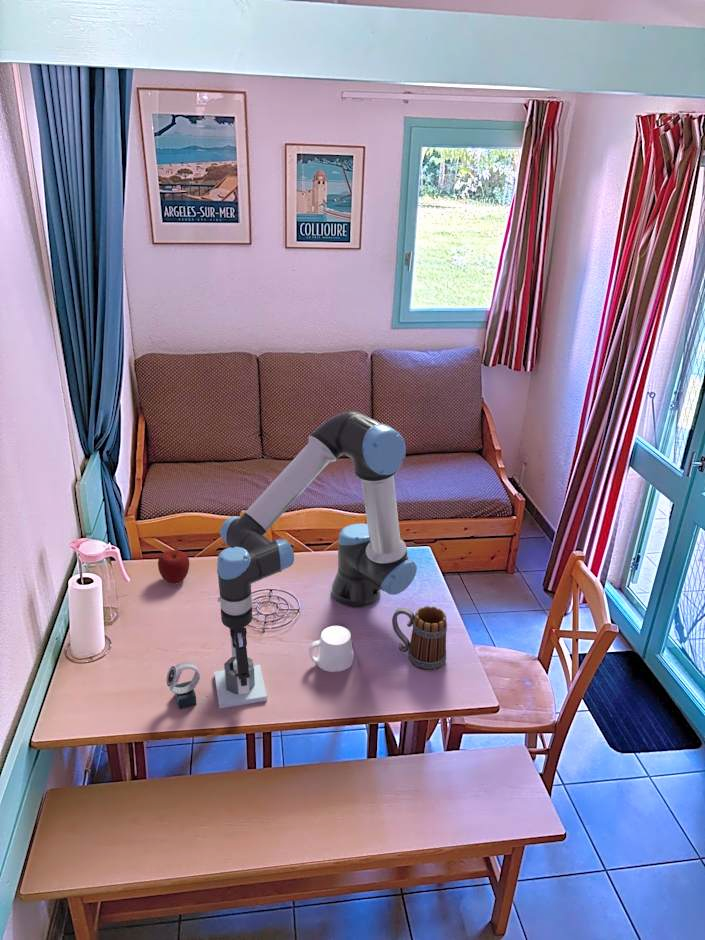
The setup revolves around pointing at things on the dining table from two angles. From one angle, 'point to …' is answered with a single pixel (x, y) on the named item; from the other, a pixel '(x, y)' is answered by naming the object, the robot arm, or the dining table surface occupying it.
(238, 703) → the post block
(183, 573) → the apple
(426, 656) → the mug
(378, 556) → the robot arm
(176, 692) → the watch
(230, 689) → the collar
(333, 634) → the mug
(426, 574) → the dining table surface
